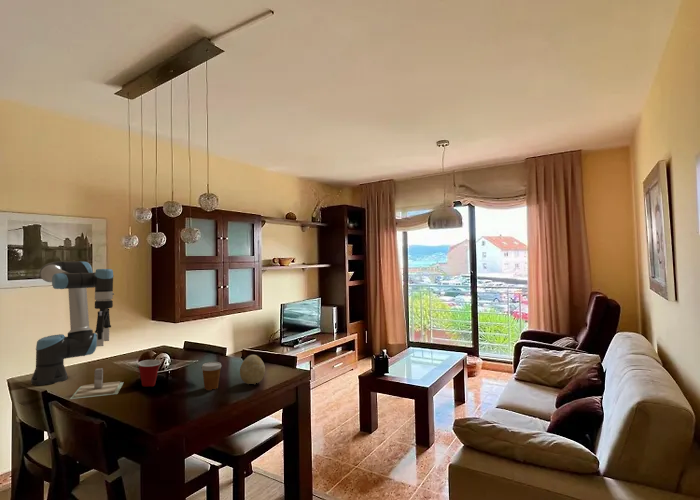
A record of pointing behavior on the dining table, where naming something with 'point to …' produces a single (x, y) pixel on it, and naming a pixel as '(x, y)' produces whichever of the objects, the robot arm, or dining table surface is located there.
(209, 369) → the disposable coffee cup
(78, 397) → the mat
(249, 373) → the fossilized egg
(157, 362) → the plastic cup
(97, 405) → the dining table surface
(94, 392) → the cover
